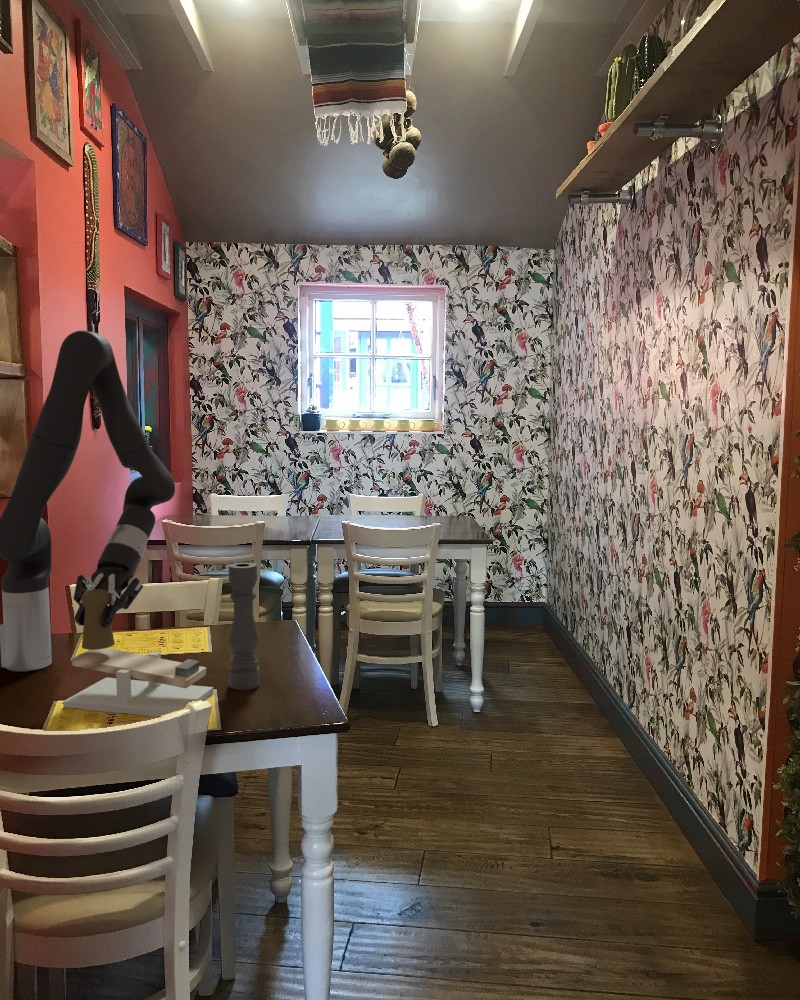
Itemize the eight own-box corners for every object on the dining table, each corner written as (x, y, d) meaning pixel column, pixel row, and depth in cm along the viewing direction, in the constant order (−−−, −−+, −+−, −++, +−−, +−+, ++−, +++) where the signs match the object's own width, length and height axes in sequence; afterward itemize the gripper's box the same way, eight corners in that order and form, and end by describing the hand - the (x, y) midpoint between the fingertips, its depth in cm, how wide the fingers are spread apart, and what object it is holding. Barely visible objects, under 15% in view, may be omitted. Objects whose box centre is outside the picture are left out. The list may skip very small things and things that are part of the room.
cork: (103, 650, 152) (100, 594, 151) (75, 648, 153) (72, 592, 152) (120, 641, 158) (118, 587, 157) (93, 639, 159) (90, 586, 158)
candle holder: (230, 691, 160) (228, 568, 157) (228, 681, 166) (226, 563, 163) (261, 688, 162) (259, 567, 159) (258, 678, 167) (256, 561, 165)
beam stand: (63, 707, 151) (61, 668, 150) (106, 683, 164) (105, 647, 163) (178, 719, 145) (177, 678, 144) (213, 693, 159) (212, 656, 158)
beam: (71, 669, 153) (72, 649, 152) (96, 657, 160) (97, 638, 160) (185, 692, 148) (187, 672, 147) (205, 678, 155) (207, 659, 155)
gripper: (84, 539, 162) (48, 612, 152) (147, 542, 159) (115, 616, 149) (101, 560, 168) (67, 631, 158) (162, 563, 165) (132, 636, 154)
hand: (91, 624), depth 153 cm, fingers closed on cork, 4 cm apart
